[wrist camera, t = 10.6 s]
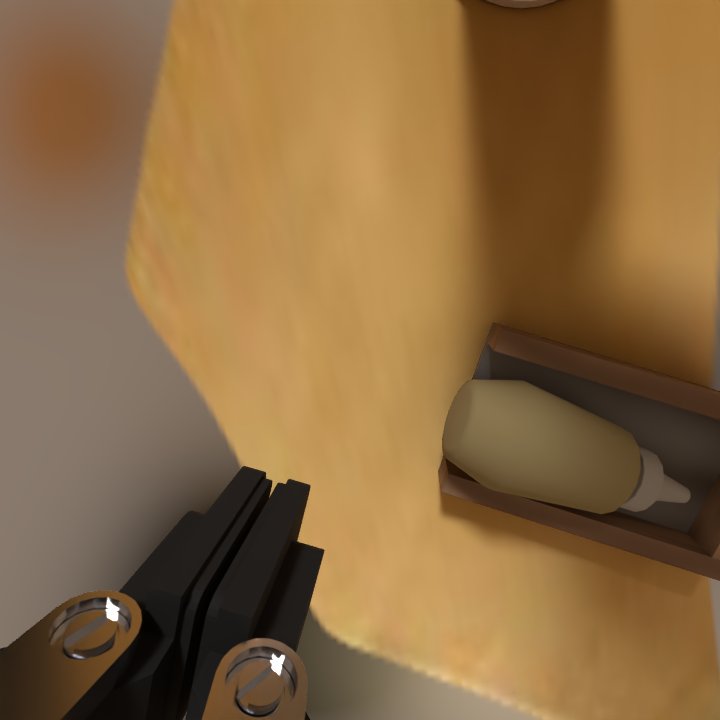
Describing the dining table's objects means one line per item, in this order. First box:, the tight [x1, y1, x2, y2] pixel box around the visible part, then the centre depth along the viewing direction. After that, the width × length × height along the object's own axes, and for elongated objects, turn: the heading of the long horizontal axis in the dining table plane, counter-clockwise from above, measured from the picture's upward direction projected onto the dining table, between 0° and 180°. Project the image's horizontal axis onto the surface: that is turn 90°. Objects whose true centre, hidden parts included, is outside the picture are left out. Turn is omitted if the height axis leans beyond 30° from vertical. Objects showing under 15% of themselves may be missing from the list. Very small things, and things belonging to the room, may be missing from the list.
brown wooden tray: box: [438, 323, 720, 581], centre depth 34 cm, size 13×22×4 cm, turn 73°
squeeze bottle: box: [442, 379, 691, 514], centre depth 32 cm, size 8×8×18 cm
